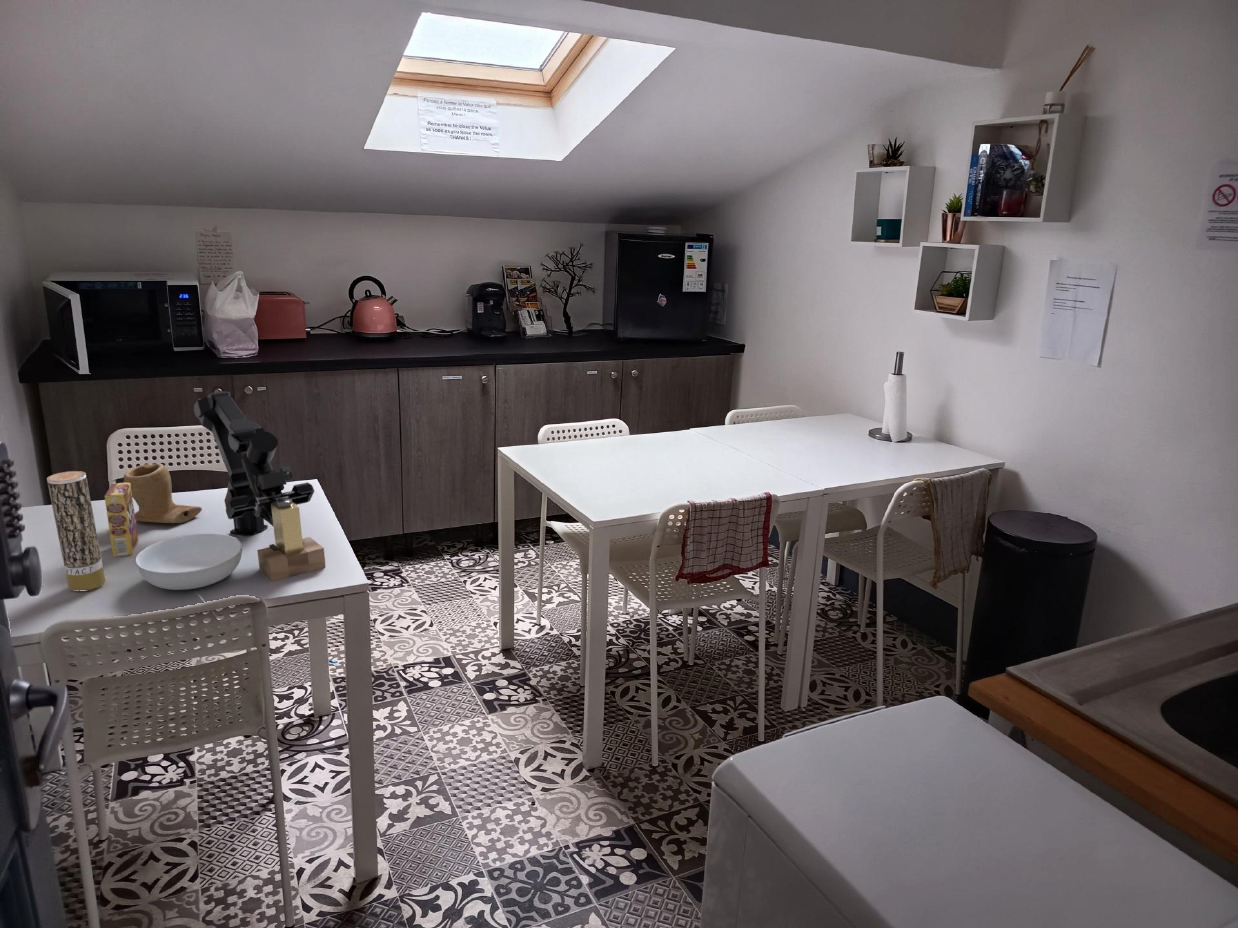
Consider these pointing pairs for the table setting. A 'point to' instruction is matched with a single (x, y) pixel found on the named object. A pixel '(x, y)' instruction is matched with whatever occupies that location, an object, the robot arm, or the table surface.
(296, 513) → the brass post
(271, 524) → the robot arm
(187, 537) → the serving bowl
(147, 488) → the tan ankle boot
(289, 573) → the walnut housing
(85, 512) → the paper tube
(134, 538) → the candy box
